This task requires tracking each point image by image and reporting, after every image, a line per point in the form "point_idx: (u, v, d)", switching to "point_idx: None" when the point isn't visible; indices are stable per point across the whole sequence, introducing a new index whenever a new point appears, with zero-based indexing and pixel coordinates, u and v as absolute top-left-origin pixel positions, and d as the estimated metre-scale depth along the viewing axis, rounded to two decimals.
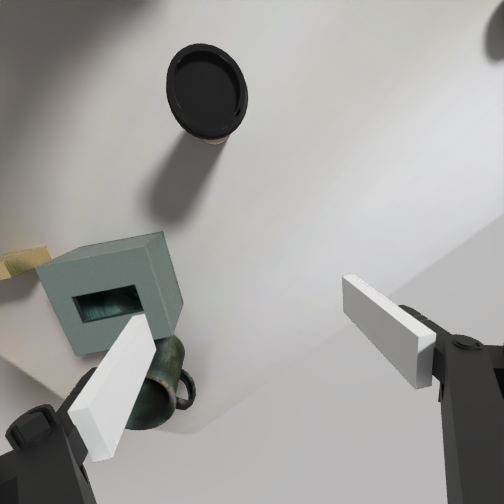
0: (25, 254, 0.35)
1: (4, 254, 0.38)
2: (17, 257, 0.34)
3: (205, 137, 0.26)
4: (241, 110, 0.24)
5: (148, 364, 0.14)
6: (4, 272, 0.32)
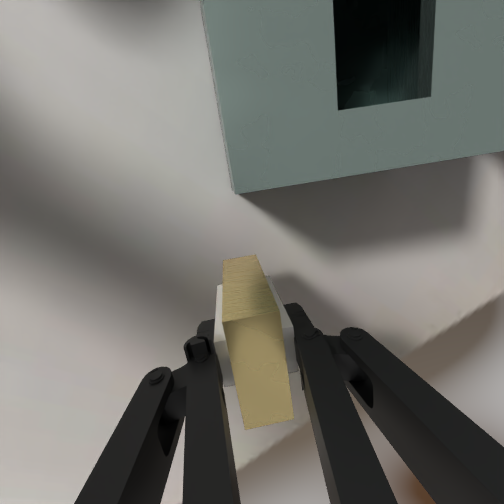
0: (225, 284, 0.13)
1: None
2: (225, 296, 0.12)
3: None
4: None
5: None
6: (259, 327, 0.10)
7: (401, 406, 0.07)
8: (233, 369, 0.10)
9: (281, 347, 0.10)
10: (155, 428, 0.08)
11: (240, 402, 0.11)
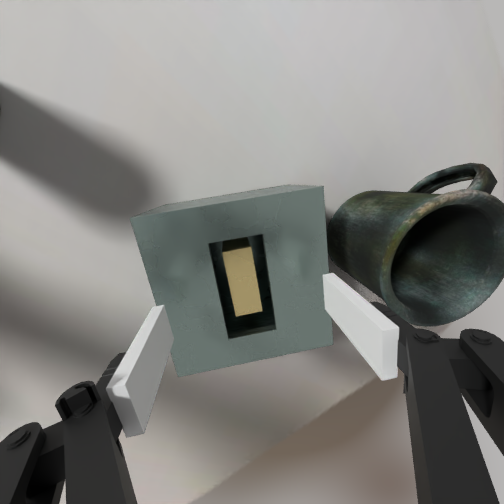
0: (224, 241, 0.23)
1: None
2: (224, 245, 0.21)
3: None
4: None
5: (168, 352, 0.15)
6: (241, 255, 0.20)
7: None
8: (228, 279, 0.20)
9: (253, 267, 0.20)
10: (22, 497, 0.07)
11: (232, 299, 0.21)
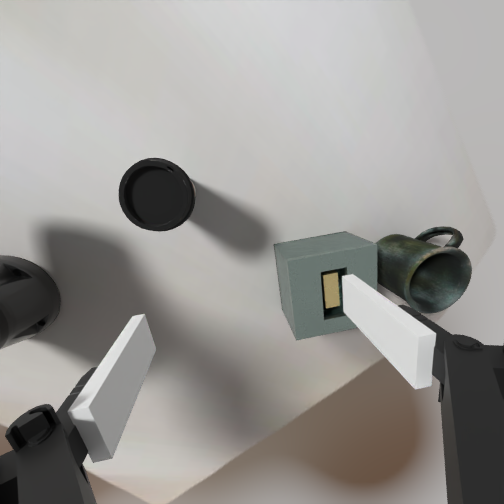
0: None
1: None
2: None
3: (193, 200, 0.29)
4: (167, 165, 0.25)
5: (148, 364, 0.14)
6: (332, 276, 0.38)
7: None
8: (324, 289, 0.39)
9: (337, 282, 0.39)
10: None
11: (325, 299, 0.39)
